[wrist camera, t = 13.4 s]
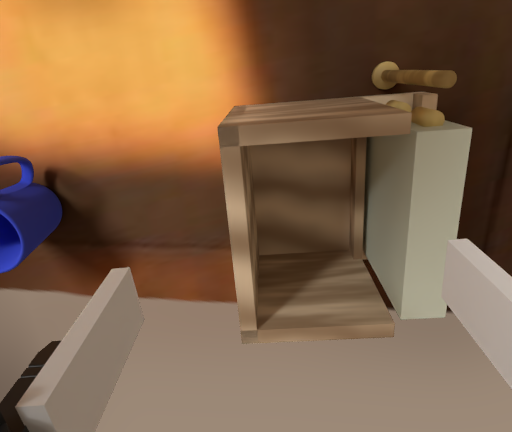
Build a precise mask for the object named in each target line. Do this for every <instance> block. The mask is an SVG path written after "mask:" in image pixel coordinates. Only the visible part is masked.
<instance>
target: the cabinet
mask: <svg viewBox="0 0 512 432" xmlns="http://www.w3.org/2000/svg"><path fill="white" fill-rule="evenodd" d="M371 78H372V82H373V84H374V85H375V86H376V87H377V88H379V89H390V88H392V87H393V86H394V85H396V83H403V84H412V85H421V86H430V87H439V88H450V87H452V86H453V85H454V84H455V83H456V80H457V75H456V73H455V72H454V71H451V70H399V68H398V66H397V65H396V64H395V63H393V62H382V63H380V64H378V65H377V66H376V67H375V68H374V70H373V72H372V76H371ZM437 99H438V94H435V93H428V92H411V93H398V94H386V95H373V96H360V97H347V98H334V99H321V100H308V101H295V102H282V103H269V104H256V105H244V106H234V107H233V109H232V110H231V111H230V112H229V114H228V115H227V116H226V117H225V119H224V120H223V121H222V122H221V124H220V125H219V126H218V136H219V145H220V154H221V163H222V171H223V180H224V189H225V198H226V207H227V215H228V224H229V233H230V242H231V250H232V259H233V268H234V277H235V286H236V294H237V303H238V312H239V321H240V329H241V338H242V344H247V343H270V342H293V341H314V340H337V339H358V338H381V337H394V327H395V324H394V321H393V319H392V317H391V315H390V313H389V311H388V309H387V307H386V305H385V304H384V302H383V300H382V298H381V296H380V294H379V292H378V290H377V288H376V286H375V284H374V282H373V280H372V278H371V276H370V274H369V272H368V270H367V268H366V266H365V264H364V262H363V260H366V259H367V257H366V255H365V253H364V251H363V223H364V196H365V170H366V143H367V137H375V136H389V135H402V134H410V130H411V118H412V113H411V112H408V111H404V110H401V109H398V108H395V107H391V106H388V105H385V104H386V103H387V102H388V101H390V100H396V101H400V102H404V103H408V104H409V105H410V107H411V111H412V110H413V109H414V108H415V107H425V108H429V109H433V110H436V108H437Z"/></svg>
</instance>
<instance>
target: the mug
mask: <svg viewBox="0 0 512 432" xmlns="http://www.w3.org/2000/svg"><path fill="white" fill-rule="evenodd" d="M13 162H18V163H19V164H20V165H21V168H22V178H21V181H20V182H19V183H17V184H15V185H12V186H10V187H7V188H4V189H2V190H0V273H4V272H7V271H10V270H12V269H14V268H15V267H17V266H18V265H19V264H20V263H21V262H22V261H23V260H24V259H25V258H26V257H27V256H28V255H29V254H30V253H31V252H32V251H33V250H34V249H35V248H36V247H37V246H38V245H39V244H40V243H42V242H43V241H44V240H45V239H46V238H47V237H48V236H49V235H50V234H51V233H52V232H53V231H54V230H55V229H56V228H57V226H58V225H59V223H60V221H61V218H62V206H61V203H60V201H59V199H58V197H57V196H56V195H55V194H54V193H53V192H52V191H51V190H50V189H48V188H47V187H45V186H42V185H40V184H36V183H32V181H33V176H34V170H33V166H32V163H31V162H30V161H29V160H28V159H26V158H24V157H19V156H2V157H0V165H3V164H8V163H13Z"/></svg>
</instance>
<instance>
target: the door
mask: <svg viewBox="0 0 512 432" xmlns="http://www.w3.org/2000/svg"><path fill="white" fill-rule="evenodd" d="M385 105H388V106H391V107H395V108H398V109H401V110H404V111H408V112H411V113H412V118H411V130H410V134H402V135H389V136H375V137H367V143H366V170H365V196H364V223H363V251H364V253H365V255H366V257H367V259H368V260H369V262H370V264H371V266H372V268H373V270H374V271H375V273H376V275H377V277H378V279H379V281H380V283H381V284H382V286H383V288H384V290H385V292H386V294H387V296H388V297H389V299H390V301H391V303H392V305H393V307H394V309H395V310H396V312H397V314H398V316H399V318H400V319H401V320H405V319H427V318H445V315H446V309H447V304H446V302H445V301H444V300H443V298H442V297H441V294H442V285H443V277H444V269H445V260H446V252H447V243H448V240H456V239H457V232H458V225H459V218H460V211H461V204H462V197H463V190H464V184H465V177H466V170H467V163H468V156H469V149H470V142H471V135H472V128H470V127H467V126H463V125H460V124H457V123H453V122H450V121H446V120H445V117H444V115H443V113H442V112H440V111H437V110H433V109H429V108H425V107H415V108H414V109H413V110H412V111H411V107H410V105H409V104H408V103H404V102H400V101H396V100H390V101H388V102H387V103H386V104H385Z"/></svg>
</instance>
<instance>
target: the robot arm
mask: <svg viewBox="0 0 512 432" xmlns="http://www.w3.org/2000/svg"><path fill="white" fill-rule="evenodd" d="M441 297H442V298H443V300H444V301H445V302H446V304H447V305H448V306H449V308H450V309H451V310H452V312H453V313H454V314H455V315H456V317H457V318H458V319H459V321H460V322H461V323H462V325H463V326H464V327H465V329H466V330H467V331H468V333H469V334H470V335H471V337H472V338H473V339H474V340H475V342H476V343H477V344H478V346H479V347H480V348H481V349H482V351H483V352H484V354H485V355H486V356H487V357H488V359H489V360H490V362H491V363H492V364H493V365H494V367H495V368H496V369H497V370H498V372H499V373H500V375H501V376H502V377H503V379H504V380H505V381H506V382H507V384H508V385H509V386H510V388H511V389H512V277H511V276H510V275H509V274H508V273H506V272H505V271H504V270H503V269H502V268H501V267H499V266H498V265H497V264H496V263H495V262H494V261H493V260H491V259H490V258H489V257H488V256H487V255H486V254H485V253H483V252H482V251H481V250H480V249H479V248H478V247H477V246H475V245H474V244H473V243H472V242H471V241H470V240H468V239H456V240H448V243H447V252H446V260H445V269H444V277H443V285H442V294H441ZM143 322H144V317H143V313H142V310H141V306H140V302H139V299H138V295H137V292H136V288H135V284H134V281H133V277H132V274H131V270H130V267H127V268H115V269H111V271H110V272H109V274H108V275H107V277H106V278H105V279H104V281H103V282H102V284H101V285H100V287H99V288H98V289H97V291H96V292H95V294H94V295H93V297H92V298H91V299H90V301H89V302H88V304H87V305H86V307H85V308H84V309H83V311H82V312H81V314H80V315H79V317H78V318H77V319H76V321H75V322H74V324H73V325H72V327H71V328H70V329H69V331H68V332H67V334H66V335H65V336H64V338H63V339H62V341H52V342H51V343H49V344H48V345H47V346H46V347H45V348H43V349H42V350H41V351H40V352H38V354H37V355H36V356H35V358H34V359H33V360H32V362H31V363H30V364H29V367H28V368H26V370H25V371H24V372H23V374H22V375H21V378H20V379H18V380H17V382H16V383H15V384H14V386H13V387H12V388H11V390H10V391H9V392H8V394H7V395H6V396H5V397H4V399H3V400H2V402H1V403H0V432H95V430H96V428H97V426H98V424H99V421H100V419H101V417H102V415H103V412H104V410H105V407H106V405H107V403H108V401H109V399H110V396H111V394H112V392H113V390H114V387H115V385H116V383H117V380H118V378H119V376H120V373H121V371H122V369H123V367H124V365H125V362H126V360H127V358H128V355H129V353H130V351H131V349H132V346H133V344H134V342H135V339H136V337H137V335H138V333H139V331H140V328H141V326H142V324H143Z"/></svg>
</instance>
